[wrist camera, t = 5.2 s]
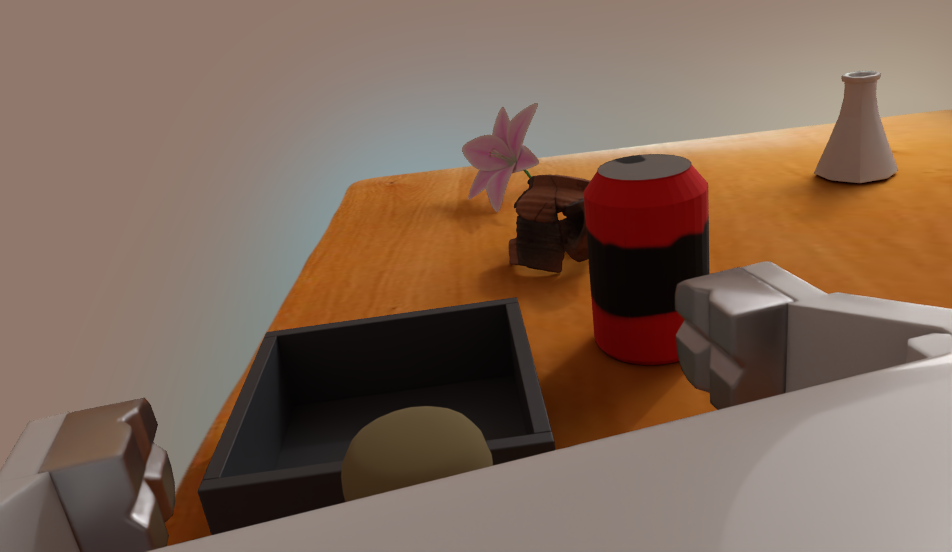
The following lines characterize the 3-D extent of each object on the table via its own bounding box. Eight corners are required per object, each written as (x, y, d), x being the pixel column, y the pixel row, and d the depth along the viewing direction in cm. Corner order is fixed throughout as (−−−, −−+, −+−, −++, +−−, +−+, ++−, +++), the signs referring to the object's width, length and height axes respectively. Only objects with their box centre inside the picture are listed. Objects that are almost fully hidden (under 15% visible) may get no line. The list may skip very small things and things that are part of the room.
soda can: (675, 306, 57) (670, 143, 52) (733, 350, 50) (732, 168, 45) (578, 329, 55) (564, 164, 51) (623, 378, 49) (611, 193, 44)
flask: (861, 189, 75) (867, 83, 71) (800, 176, 81) (803, 78, 77) (912, 172, 77) (921, 69, 74) (849, 160, 83) (855, 65, 80)
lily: (470, 191, 95) (431, 132, 89) (556, 141, 93) (522, 78, 87) (494, 250, 86) (452, 189, 79) (589, 196, 84) (554, 130, 78)
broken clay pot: (484, 262, 71) (501, 173, 71) (572, 282, 75) (588, 197, 75) (550, 267, 60) (570, 161, 60) (649, 289, 64) (668, 190, 64)
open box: (286, 409, 50) (266, 332, 48) (526, 375, 50) (517, 296, 48) (228, 590, 36) (196, 491, 34) (565, 542, 36) (554, 441, 34)
